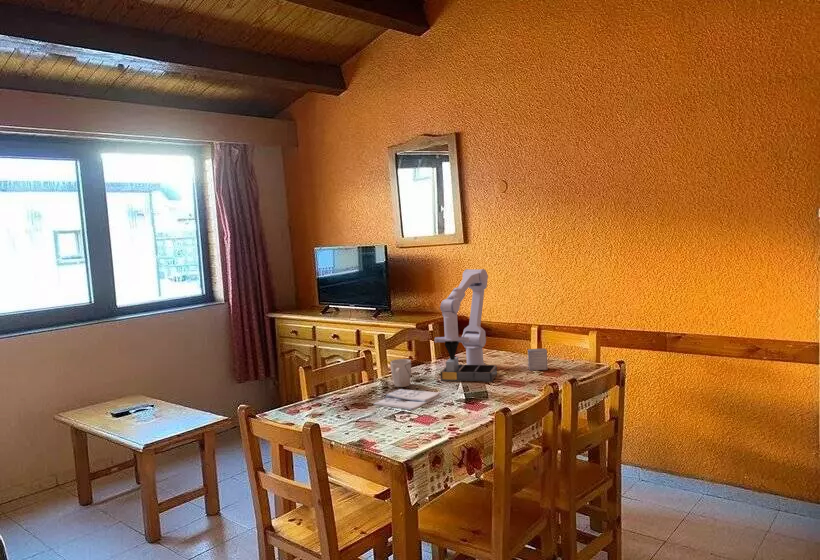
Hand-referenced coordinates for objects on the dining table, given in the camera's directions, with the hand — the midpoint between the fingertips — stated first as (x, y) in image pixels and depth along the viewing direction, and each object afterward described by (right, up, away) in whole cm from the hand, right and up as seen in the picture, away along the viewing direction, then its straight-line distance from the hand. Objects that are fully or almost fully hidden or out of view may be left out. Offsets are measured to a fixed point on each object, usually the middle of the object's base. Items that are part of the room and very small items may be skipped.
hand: (452, 359), depth 259 cm
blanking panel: (0, -7, 0) cm, 7 cm away
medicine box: (+37, -5, +6) cm, 38 cm away
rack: (+7, -7, -1) cm, 10 cm away
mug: (-22, -10, -9) cm, 26 cm away
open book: (-19, -12, -30) cm, 37 cm away
